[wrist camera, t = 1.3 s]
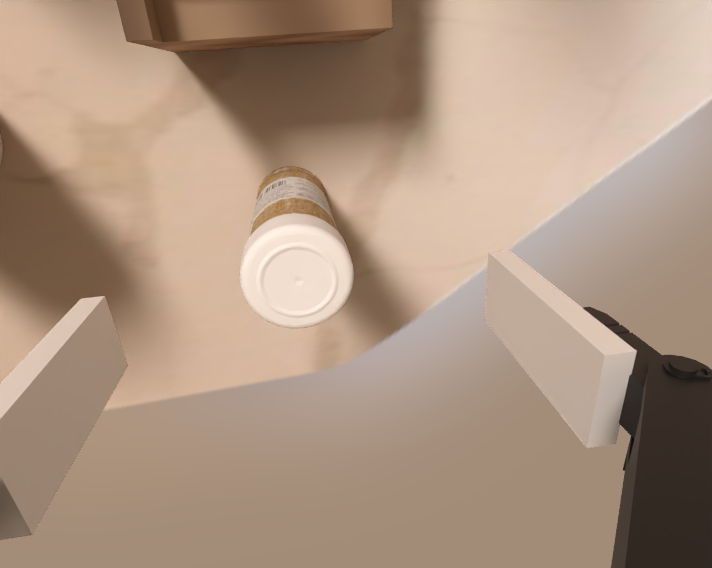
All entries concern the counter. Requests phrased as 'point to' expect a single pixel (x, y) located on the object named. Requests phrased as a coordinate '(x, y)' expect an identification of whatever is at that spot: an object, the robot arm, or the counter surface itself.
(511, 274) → the robot arm
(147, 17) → the wooden box
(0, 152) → the light grey patterned cylinder
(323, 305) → the sprinkles bottle
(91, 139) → the counter surface
